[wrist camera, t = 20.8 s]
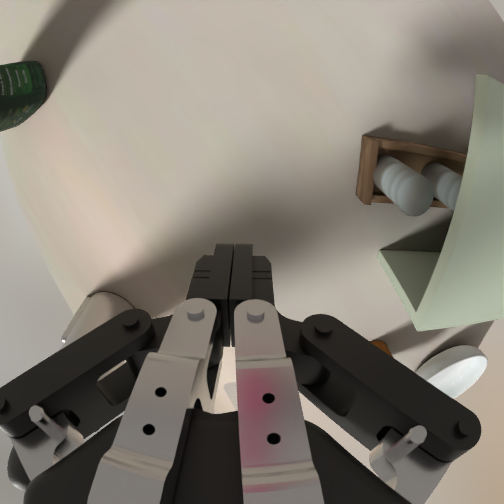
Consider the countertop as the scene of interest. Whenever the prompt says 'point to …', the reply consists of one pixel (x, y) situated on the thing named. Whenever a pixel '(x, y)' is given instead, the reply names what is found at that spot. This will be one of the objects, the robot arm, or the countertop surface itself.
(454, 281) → the sage green storage bin
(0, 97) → the coffee jar
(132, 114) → the countertop surface
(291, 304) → the countertop surface
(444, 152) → the tray
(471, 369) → the serving bowl
